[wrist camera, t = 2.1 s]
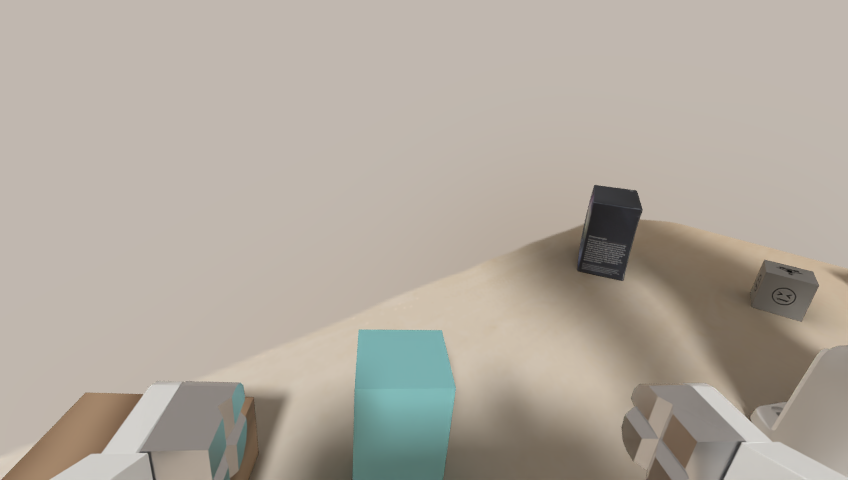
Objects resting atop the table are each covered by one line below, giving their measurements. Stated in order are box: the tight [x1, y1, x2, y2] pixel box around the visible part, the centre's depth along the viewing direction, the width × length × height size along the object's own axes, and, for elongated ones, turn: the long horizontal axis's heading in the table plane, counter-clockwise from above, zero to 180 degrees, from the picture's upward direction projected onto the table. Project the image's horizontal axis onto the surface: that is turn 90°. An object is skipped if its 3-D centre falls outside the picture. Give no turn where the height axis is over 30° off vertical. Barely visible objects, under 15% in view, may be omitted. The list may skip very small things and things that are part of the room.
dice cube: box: [750, 260, 819, 322], centre depth 53 cm, size 5×5×5 cm
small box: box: [577, 185, 642, 281], centre depth 61 cm, size 11×6×10 cm, turn 158°
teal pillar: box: [352, 330, 456, 480], centre depth 25 cm, size 5×5×10 cm
